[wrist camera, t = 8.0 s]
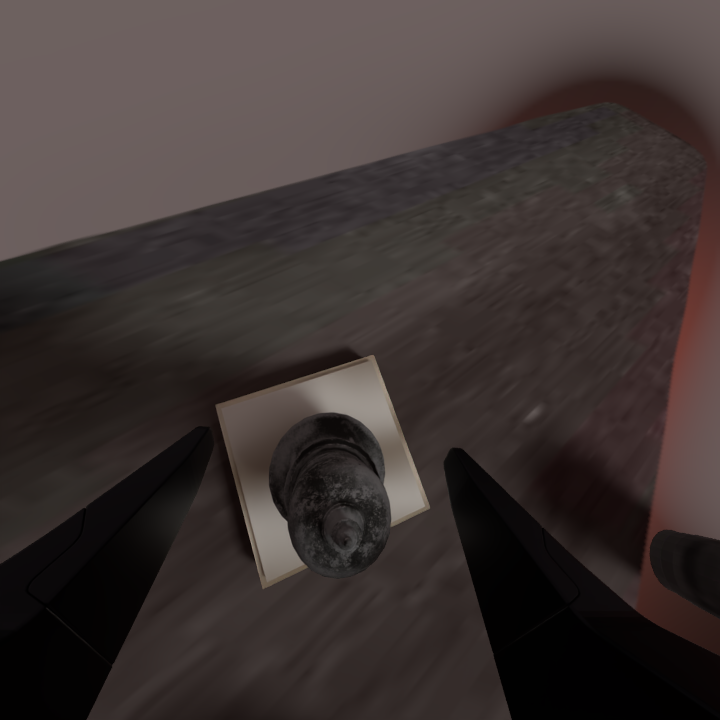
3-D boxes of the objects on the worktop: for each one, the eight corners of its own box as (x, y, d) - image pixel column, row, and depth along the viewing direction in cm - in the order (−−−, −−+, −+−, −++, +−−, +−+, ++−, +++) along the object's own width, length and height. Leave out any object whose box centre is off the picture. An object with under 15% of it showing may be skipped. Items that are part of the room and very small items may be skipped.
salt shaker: (302, 532, 16) (265, 826, 4) (262, 440, 17) (143, 482, 5) (387, 481, 17) (530, 600, 6) (347, 398, 18) (403, 357, 7)
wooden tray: (418, 499, 20) (433, 510, 17) (269, 569, 17) (261, 593, 15) (368, 361, 22) (374, 353, 19) (225, 406, 19) (212, 404, 17)
